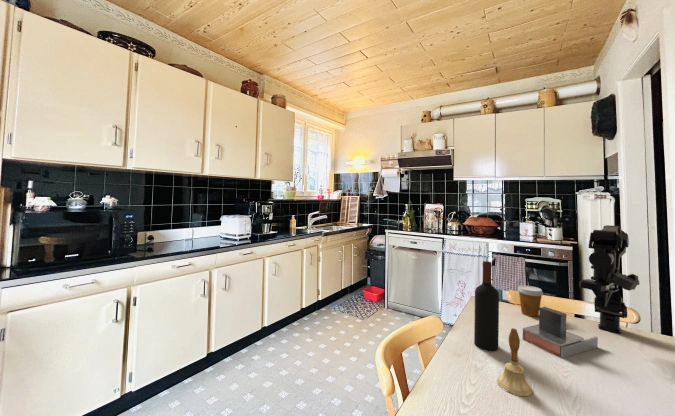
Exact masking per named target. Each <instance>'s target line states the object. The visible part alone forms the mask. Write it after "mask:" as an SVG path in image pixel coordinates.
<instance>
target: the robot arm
mask: <svg viewBox="0 0 675 416" xmlns="http://www.w3.org/2000/svg"><path fill="white" fill-rule="evenodd" d="M629 240H630V238H629V234H628V233H626V232H625V231H623V230H622V226H620V225H607V224H606V225H603V228H602V229H593V231H592V232H590V234H589V241H588V246H587V247H588V249H593V252H592V253H591V254H590V255H589V256H588V261H589V263H590V264H591V266H590V269H591V270H593V276H590V279H589V278H587V279H582V280H579V284H578V285H579V288H582V289H586V290H590V291H592V292H593V294H594V296H595V297H594V312H595V313H599V323H600V324H598V329H600V330H604V331H607V332H608V331H609V332H613V333H616V334H622V332H623V331H622V327H621V323H620V322H621V319H626V318H628V307H627V305H626V304H625V302H623V297H622V296H621V294H620V292H619V290H620V288H619V287H621V288H622V289H624V290H625V291H632V290H633V291H634V290H636V288H637V286H640V280H639V276H638V275H636V274H634V273H630V274H628V275H627V274H623V273H621V272H620V264H621V263H620V262H621V257H623V256H624V254H626V252H627V248H629V244H630V243H629V242H630V241H629Z"/></svg>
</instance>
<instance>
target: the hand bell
mask: <svg viewBox="0 0 675 416" xmlns="http://www.w3.org/2000/svg"><path fill="white" fill-rule="evenodd" d="M520 342H521V340H520V336H519V333H518V330H517V329H516V328H511V329H510V332H509V335H508V346H509V349H510V362H507V363H505V364H504V370H503V373H502V374H501V375H499V376H498V377H497V379H496V382H497V385H498V384H499V385H500V386H501V387H502V388H504V389H505V390H507V391H509V392H511V393H512V394H511V393H510V394H511V395H513V394H515V395H514V396H517V395H519V396H518V397H523V396H525V397H530V396H532V394H533V392H534V391H533V390H534V389H532V387H531V385H530V383H528V381H527V379H526V375H525V370H524V368H523V367H522V366H521V365H520V364H519V359H518V358H519V356H518V352H519V350H520ZM499 385H498V386H499ZM500 386H499V387H500ZM501 387H500V388H501ZM502 388H501V389H502ZM505 390H504V391H505ZM507 391H506V392H507ZM509 392H508V393H509Z"/></svg>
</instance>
